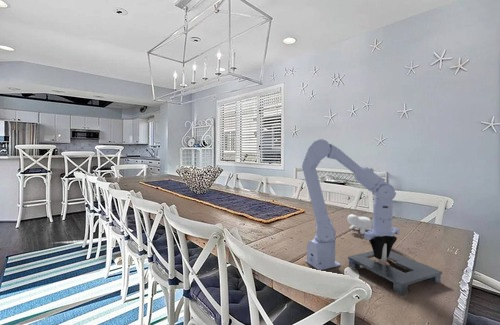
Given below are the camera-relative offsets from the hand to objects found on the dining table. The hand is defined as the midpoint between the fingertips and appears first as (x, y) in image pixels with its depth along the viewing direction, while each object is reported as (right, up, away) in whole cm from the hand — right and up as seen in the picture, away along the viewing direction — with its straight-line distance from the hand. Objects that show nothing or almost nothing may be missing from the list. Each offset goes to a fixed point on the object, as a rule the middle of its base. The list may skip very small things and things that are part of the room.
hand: (381, 257), depth 88 cm
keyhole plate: (+2, -4, -3) cm, 6 cm away
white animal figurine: (+10, -2, +41) cm, 42 cm away
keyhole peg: (0, -3, 0) cm, 3 cm away
